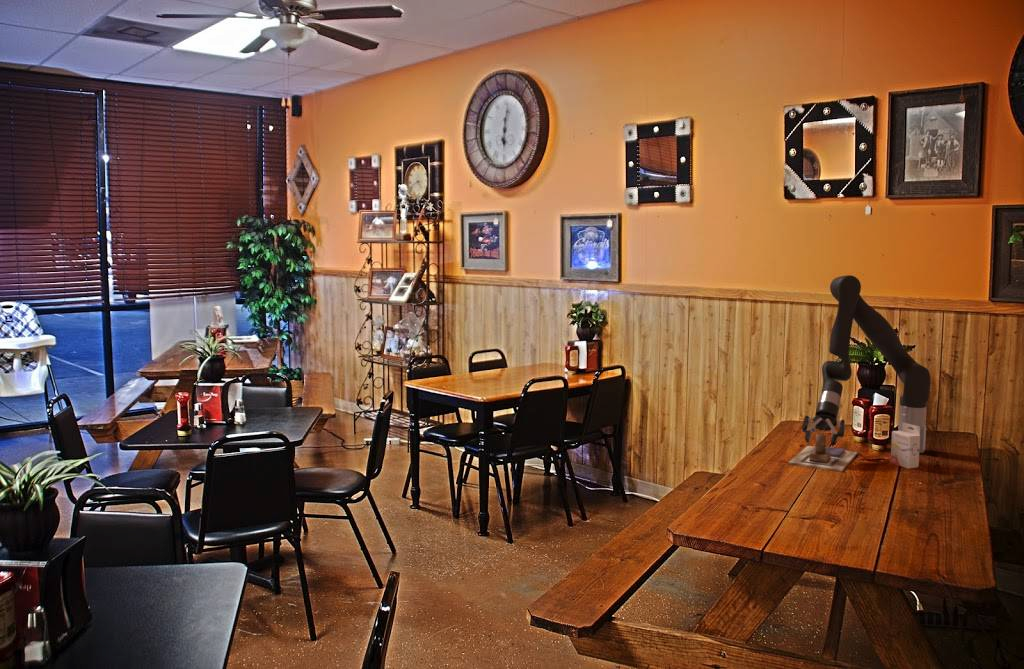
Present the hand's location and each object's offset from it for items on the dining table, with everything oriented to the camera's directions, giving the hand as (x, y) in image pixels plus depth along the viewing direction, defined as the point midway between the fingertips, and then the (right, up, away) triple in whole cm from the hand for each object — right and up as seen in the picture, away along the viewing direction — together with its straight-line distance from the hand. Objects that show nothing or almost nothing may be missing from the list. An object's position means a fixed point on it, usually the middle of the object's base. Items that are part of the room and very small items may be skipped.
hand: (819, 443), depth 299 cm
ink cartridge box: (+30, -8, -1) cm, 31 cm away
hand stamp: (+1, -6, +2) cm, 7 cm away
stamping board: (+4, -7, +7) cm, 11 cm away
